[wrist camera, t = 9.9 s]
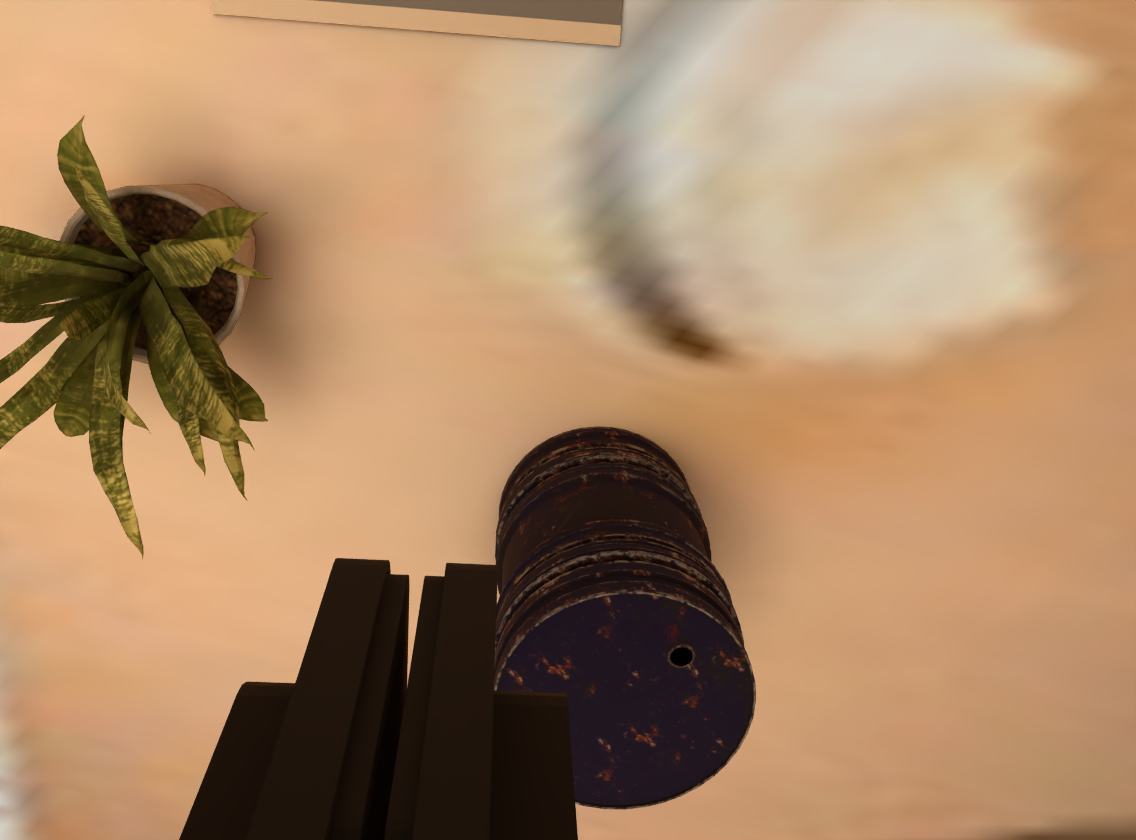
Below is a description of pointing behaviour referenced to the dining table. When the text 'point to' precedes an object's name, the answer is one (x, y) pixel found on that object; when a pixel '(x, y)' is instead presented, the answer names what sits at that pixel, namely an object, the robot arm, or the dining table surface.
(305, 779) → the robot arm
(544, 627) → the rusty oil drum
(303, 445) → the dining table surface
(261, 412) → the house plant
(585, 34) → the mat
